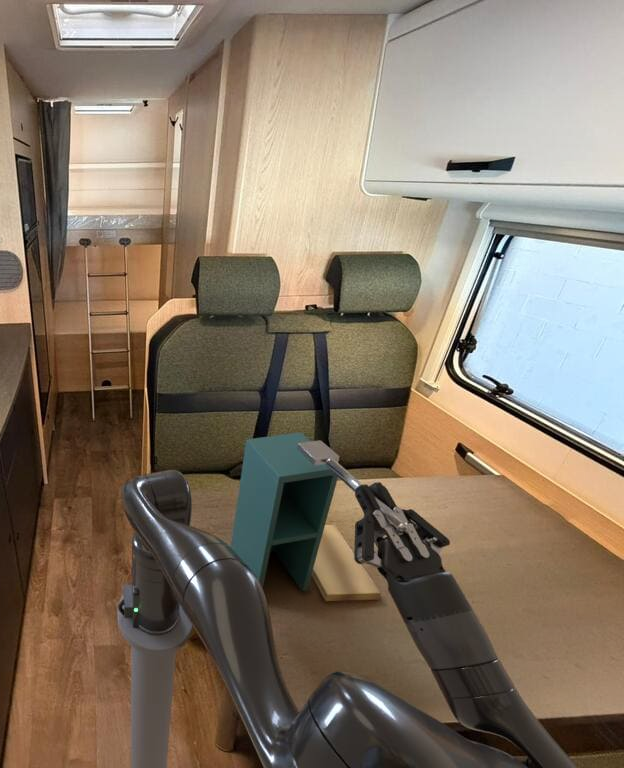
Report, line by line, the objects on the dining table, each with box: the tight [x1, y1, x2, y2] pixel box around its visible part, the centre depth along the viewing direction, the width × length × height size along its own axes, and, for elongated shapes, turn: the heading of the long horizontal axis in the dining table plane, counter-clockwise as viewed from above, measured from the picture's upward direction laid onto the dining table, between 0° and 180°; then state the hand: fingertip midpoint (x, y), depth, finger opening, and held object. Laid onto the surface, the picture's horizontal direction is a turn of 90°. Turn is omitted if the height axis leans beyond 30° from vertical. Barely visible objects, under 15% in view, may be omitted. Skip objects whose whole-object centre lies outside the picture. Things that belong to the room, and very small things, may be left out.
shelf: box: [230, 432, 339, 592], centre depth 86 cm, size 12×12×32 cm
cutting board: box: [311, 524, 381, 602], centre depth 94 cm, size 11×19×2 cm, turn 1°
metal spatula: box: [297, 440, 409, 534], centre depth 64 cm, size 21×4×2 cm, turn 11°
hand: (367, 485), depth 61 cm, fingers closed on metal spatula, 1 cm apart
